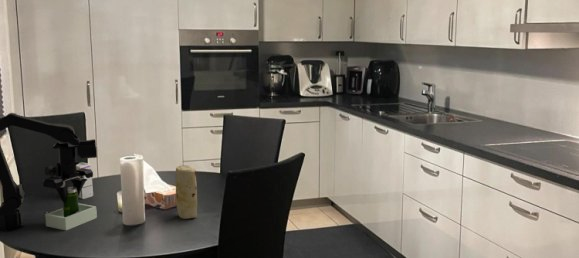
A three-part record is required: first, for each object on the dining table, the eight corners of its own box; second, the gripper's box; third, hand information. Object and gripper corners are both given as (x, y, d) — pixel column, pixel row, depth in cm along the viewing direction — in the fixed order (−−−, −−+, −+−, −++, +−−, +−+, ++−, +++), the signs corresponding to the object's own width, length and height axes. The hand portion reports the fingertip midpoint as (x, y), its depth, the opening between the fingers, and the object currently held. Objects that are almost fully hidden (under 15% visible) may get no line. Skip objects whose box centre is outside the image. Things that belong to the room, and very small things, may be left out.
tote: (66, 230, 198) (65, 218, 198) (46, 226, 203) (45, 214, 202) (96, 217, 212) (96, 206, 211) (77, 214, 216) (76, 202, 215)
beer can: (81, 216, 210) (79, 186, 208) (76, 221, 205) (74, 190, 202) (66, 217, 209) (64, 186, 207) (61, 222, 204) (59, 190, 202)
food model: (201, 216, 214) (200, 166, 210) (189, 221, 208) (188, 169, 205) (183, 212, 219) (181, 162, 215) (170, 216, 213) (169, 166, 210)
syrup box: (93, 196, 239) (91, 163, 237) (82, 199, 234) (80, 166, 232) (85, 194, 242) (83, 161, 240) (73, 197, 237) (71, 164, 235)
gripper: (71, 152, 215) (73, 191, 217) (30, 162, 198) (33, 204, 201) (92, 155, 210) (95, 194, 213) (53, 165, 193) (56, 208, 196)
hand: (70, 200), depth 206 cm, fingers closed on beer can, 5 cm apart
